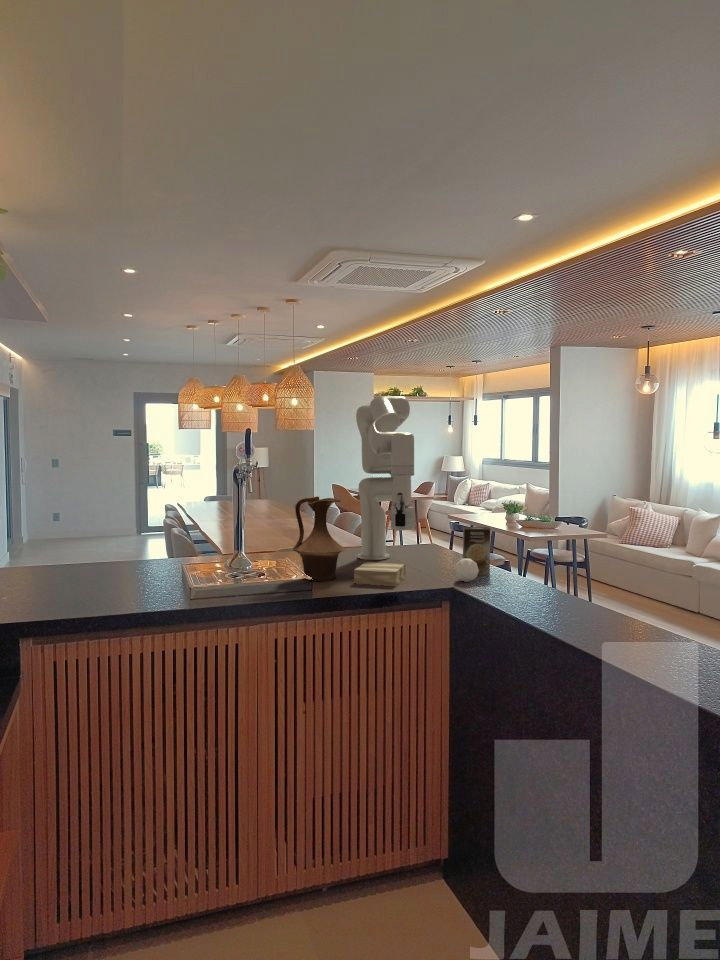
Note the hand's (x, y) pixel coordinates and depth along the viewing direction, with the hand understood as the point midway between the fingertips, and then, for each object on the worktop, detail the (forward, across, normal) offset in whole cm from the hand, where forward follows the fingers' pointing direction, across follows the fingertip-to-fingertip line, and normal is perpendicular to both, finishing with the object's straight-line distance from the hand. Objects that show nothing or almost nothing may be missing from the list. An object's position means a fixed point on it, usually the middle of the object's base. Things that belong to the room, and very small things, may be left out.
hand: (402, 524), depth 223 cm
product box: (+2, 0, 0) cm, 2 cm away
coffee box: (+20, -18, +23) cm, 35 cm away
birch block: (+20, -1, -8) cm, 21 cm away
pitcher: (+20, -1, -29) cm, 35 cm away
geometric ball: (+20, -6, +20) cm, 29 cm away
